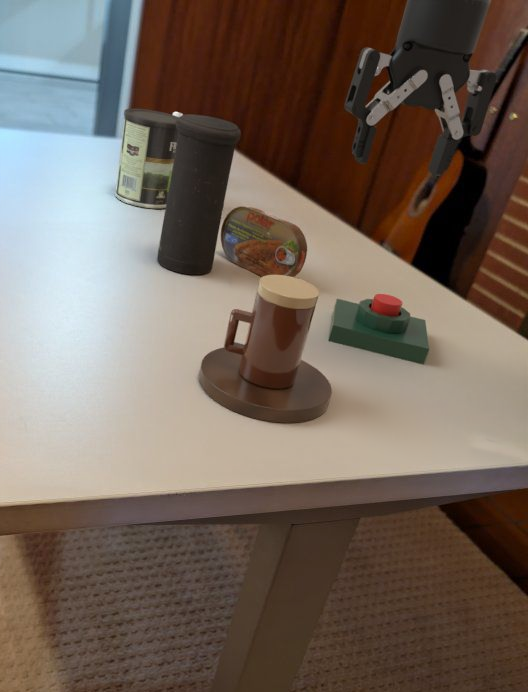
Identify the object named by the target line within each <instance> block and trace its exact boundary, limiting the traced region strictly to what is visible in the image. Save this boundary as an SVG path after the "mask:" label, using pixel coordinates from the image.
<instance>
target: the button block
mask: <svg viewBox="0 0 528 692" xmlns="http://www.w3.org/2000/svg"><path fill="white" fill-rule="evenodd" d="M373 299H374V298H365V299H363V300H360V301H359V303H358V302H353V301H350V300H349V301H348V300H346V299H341V298H336V299H335V304H334V306H333V311H332V314H331V322H330V327H329V333H328V340H327V341H328V342H331V343H336V344H339V345H342V346H343V345H344V346H347V347H350V348H354V349H359V350H363V351H367V352H372V353H375V354H380V355H382V356H387V357H392V358H395V359H398V360H399V359H400V360H404V361H407V362H412V363H415V364H420V365H425V362H426V360H427V356H428V354H429V351H430V345H429V337H428V331H427V323H426V320H425V319H422V318H418V317H414V316H411V313H410V312H409V311H408V310H407V309H406V308H404V307H403V306H402V307H401V310H400V312H399V315H398V317H392V316H387V315H382V314H379V313H377V312H375V311H373V310H372V309H370V308H371V305H372V302H373Z"/></svg>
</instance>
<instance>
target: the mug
mask: <svg viewBox="0 0 528 692" xmlns="http://www.w3.org/2000/svg"><path fill="white" fill-rule="evenodd" d="M319 296H320V290H319V289H318V288H317V287H316V286H314V285H313V284H312V283H310V282H307V280H303V279H300V278H297V277H290V276H284V275H266V276H263V277H261V276H260V278H259V281H258V285H257V288H256V293H255V299H254V301H253V305H252V306H253V307H252V311H248V310H247V311H246V310H243V309H239V308H236V309H235V308H234V309H232V310H231V312H230V315H229V320H228V324H227V328H226V334H225V337H224V343H223V347H224V348H225V350H227V351H229V352H233V353H237V354H241V355H242V358H241V362H240V367H239V371H240V374H241V375H242V376H243V377H244V378H245V379H246V380H248V381H250V382H252V383H254V384H256V385H259V386H262V387H266V388H273V389H282V388H287V387H290V386H292V385H293V384H294V382H295V379H296V375H297V372H298V368H299V365H300V361H301V360H302V357H303V353H304V350H305V346H306V343H307V340H308V335H309V332H310V328H311V325H312V321H313V317H314V314H315V311H316V307H317V304H318V300H319ZM239 322H243V323H247V324H248V328H247V331H246V336H245V341H244V343H239V342H236V337H237V332H238V327H239V324H240V323H239Z"/></svg>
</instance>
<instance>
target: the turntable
mask: <svg viewBox="0 0 528 692" xmlns="http://www.w3.org/2000/svg"><path fill="white" fill-rule="evenodd" d="M241 358H242V355H241V354H237V353H233V352H229V351H227V350H225V348H224V346H223V347H219V348H216V349H214V350H211V351H210V352H208V353H207V354H206V355H205V356H204V357H203V358H202V360H201V363H200V367H199V368H200V369H199V371H198V380H199V384H200V387H201V388H202V390H203V391H204V393H206V395H208V396H209V397H210V398H211V399H212V400H213V401H215V402H216V403H218V404H219V405H221V406H222V407H224V408H226V409H227V410H230V411H232V412H235V413H237V414H240V415H242V416H245V417H248V418H251V419H252V418H253V419H255V420H260V421H265V422H270V423H279V424H280V423H281V424H296V423H303V422H307V421H308V422H309V421H311V420H315V419H316V418H319V417H321V416H322V414H324V413H325V412H326V410H327V409H328V406H329V403H330V400H331V397H332V393H333V392H332V386H331V383H330V381H329V380H328V378H327V377H326V375H324V374H323V373H322V372H321V371H320V370H319V369H318V368H316V367H315V366H313V365H311V364H310V363H308V362H307V361H305V360H302V359H301V361H300V365H299V368H298V372H297V375H296V379H295V382H294V384H293V385H292V386H290V387H287V388H282V389H273V388H266V387H262V386H259V385H256V384H254V383H252V382H250V381H248V380H246V379H245V378H244V377H243V376H242V375H241V374H240V371H239V367H240V362H241Z"/></svg>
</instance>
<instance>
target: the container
mask: <svg viewBox="0 0 528 692" xmlns="http://www.w3.org/2000/svg"><path fill="white" fill-rule="evenodd" d="M176 128H177V131H178V132H179V133H178V139H177V145H176V151H175V157H174V163H173V169H172V174H171V180H170V185H169V191H168V197H167V203H166V208H164V215H163V221H162V226H161V233H160V238H159V244H158V250H157V258H156V259H157V263H158V264H159V265H161V266H162V267H164V268H165V269H167V270H170V271H173V272H175V273H180V274H186V275H205V274H208V273H210V272H211V271H212V269H213V266H214V261H215V256H216V255H215V254H216V249H217V243H218V237H219V231H220V226H221V220H222V215H223V211H224V204H225V200H226V194H227V189H228V185H229V180H230V173H231V168H232V164H233V160H234V155H235V149H236V145H237V144H238V142H239V141H240V140H241V137H242V132H241V131H242V130H240V128H239V126H238V125H237V124H235V123H233V122H231V121H228V120H225V119H222V118H217V117H213V116H208V115H202V114H201V115H200V114H189V113H188V114H183V115H182V116H181V117H179V118H177V120H176Z"/></svg>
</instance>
